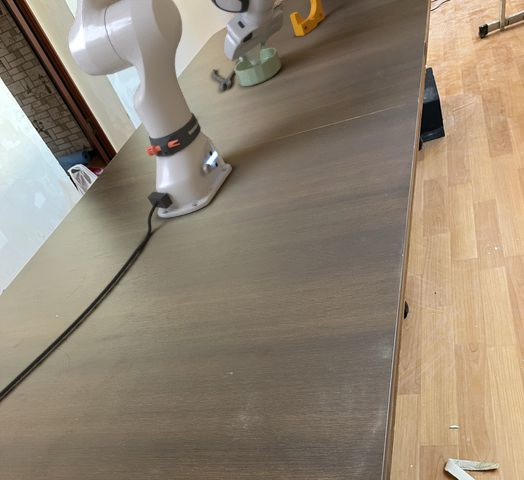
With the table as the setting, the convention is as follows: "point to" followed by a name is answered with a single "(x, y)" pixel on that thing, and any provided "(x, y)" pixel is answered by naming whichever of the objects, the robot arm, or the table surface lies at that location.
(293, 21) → the pipe clamp
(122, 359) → the table surface
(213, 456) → the table surface
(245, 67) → the bowl
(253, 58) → the lightbulb
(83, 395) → the table surface
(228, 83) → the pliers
